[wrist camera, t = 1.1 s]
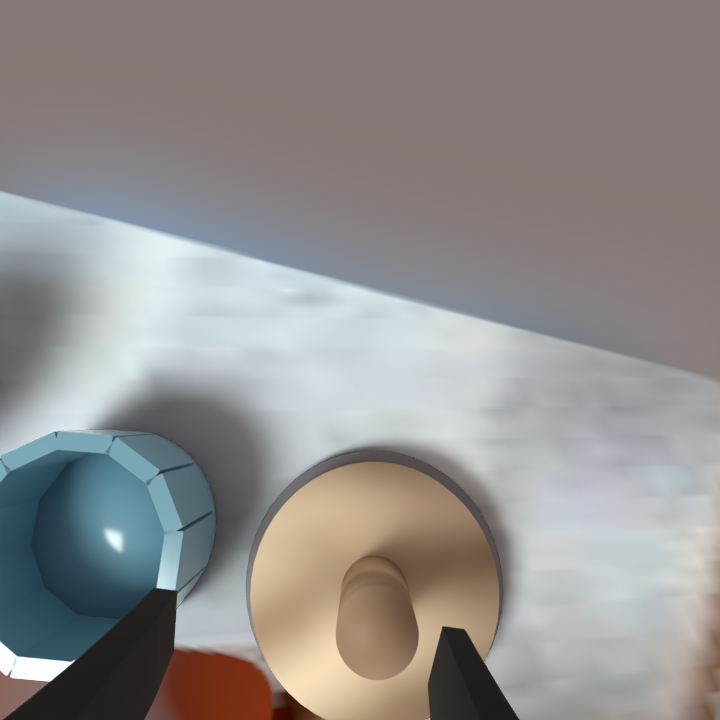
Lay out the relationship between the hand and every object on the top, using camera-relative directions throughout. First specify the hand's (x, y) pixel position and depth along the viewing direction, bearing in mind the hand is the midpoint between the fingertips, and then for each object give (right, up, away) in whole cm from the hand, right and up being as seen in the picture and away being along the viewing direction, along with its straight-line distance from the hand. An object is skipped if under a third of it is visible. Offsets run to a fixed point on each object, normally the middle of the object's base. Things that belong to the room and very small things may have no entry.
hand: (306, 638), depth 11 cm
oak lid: (+2, -4, +10) cm, 11 cm away
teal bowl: (-11, -1, +11) cm, 16 cm away
